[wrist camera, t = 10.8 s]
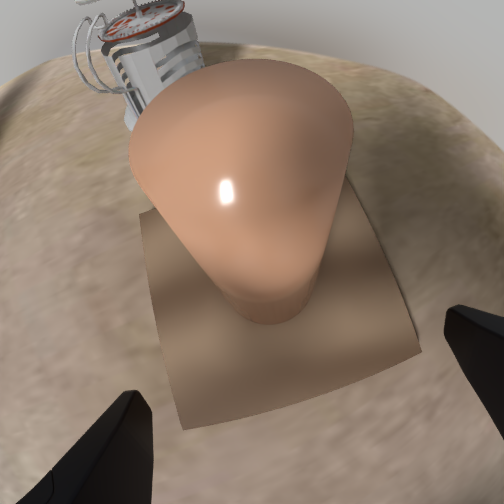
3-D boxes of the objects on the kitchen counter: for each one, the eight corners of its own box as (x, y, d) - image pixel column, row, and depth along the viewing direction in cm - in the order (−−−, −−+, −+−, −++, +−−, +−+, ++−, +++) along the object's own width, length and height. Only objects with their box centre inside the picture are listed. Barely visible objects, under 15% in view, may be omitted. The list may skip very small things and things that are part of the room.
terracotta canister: (331, 283, 17) (397, 126, 6) (263, 343, 16) (209, 275, 5) (273, 224, 19) (252, 42, 7) (207, 276, 18) (100, 130, 7)
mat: (415, 353, 16) (422, 352, 15) (188, 427, 15) (183, 430, 14) (332, 164, 21) (334, 156, 20) (144, 220, 21) (139, 214, 20)
